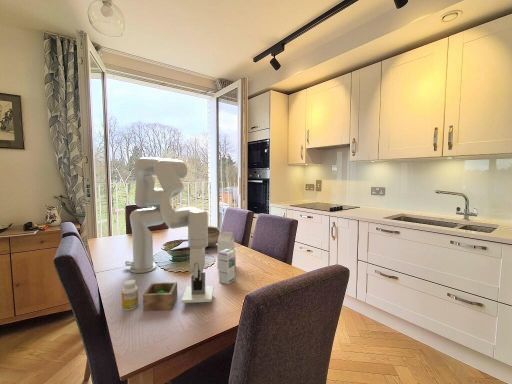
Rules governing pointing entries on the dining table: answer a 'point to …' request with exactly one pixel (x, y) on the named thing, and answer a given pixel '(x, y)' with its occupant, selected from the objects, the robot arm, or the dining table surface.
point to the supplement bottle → (129, 295)
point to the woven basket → (212, 236)
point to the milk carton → (225, 242)
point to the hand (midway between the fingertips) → (198, 287)
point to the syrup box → (227, 266)
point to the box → (160, 296)
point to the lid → (198, 292)
